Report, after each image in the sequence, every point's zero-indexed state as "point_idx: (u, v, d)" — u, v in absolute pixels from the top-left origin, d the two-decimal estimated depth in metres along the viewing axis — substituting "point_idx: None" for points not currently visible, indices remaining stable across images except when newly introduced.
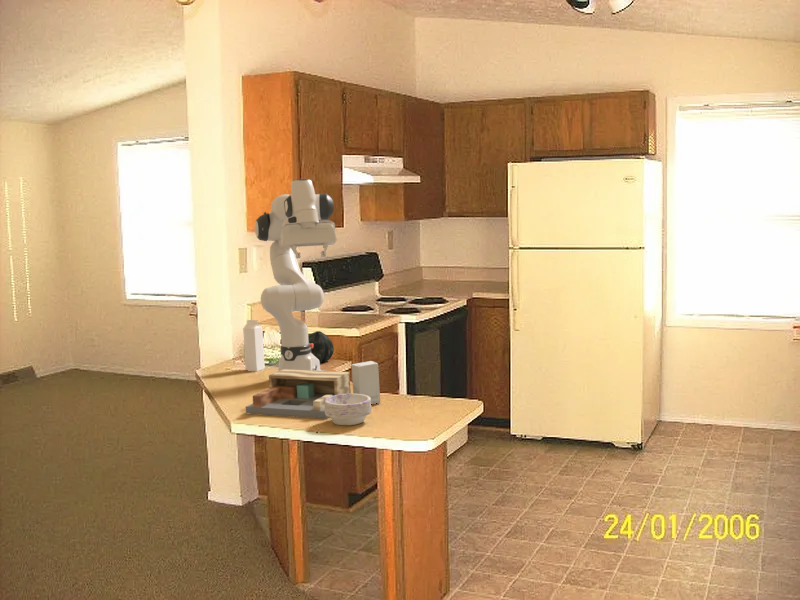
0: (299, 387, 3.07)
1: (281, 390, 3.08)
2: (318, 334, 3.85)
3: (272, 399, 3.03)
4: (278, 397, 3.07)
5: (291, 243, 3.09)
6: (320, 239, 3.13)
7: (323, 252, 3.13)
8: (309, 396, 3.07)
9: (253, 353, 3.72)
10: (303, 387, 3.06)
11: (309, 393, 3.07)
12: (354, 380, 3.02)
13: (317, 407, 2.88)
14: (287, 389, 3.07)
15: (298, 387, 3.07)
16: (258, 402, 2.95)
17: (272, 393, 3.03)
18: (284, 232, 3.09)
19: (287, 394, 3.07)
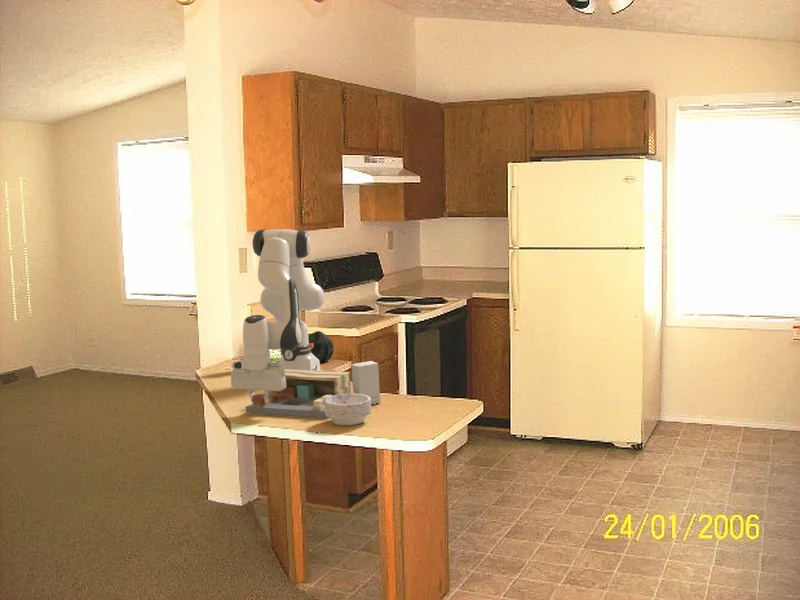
0: (299, 387, 3.07)
1: None
2: (318, 334, 3.85)
3: (272, 399, 3.03)
4: (278, 397, 3.07)
5: (238, 387, 2.98)
6: (265, 386, 2.94)
7: (263, 399, 2.96)
8: (309, 396, 3.07)
9: None
10: (303, 387, 3.06)
11: (309, 393, 3.07)
12: (354, 380, 3.02)
13: (317, 407, 2.88)
14: (287, 389, 3.07)
15: (298, 387, 3.07)
16: (258, 402, 2.95)
17: (272, 393, 3.03)
18: (232, 376, 2.98)
19: (287, 394, 3.07)
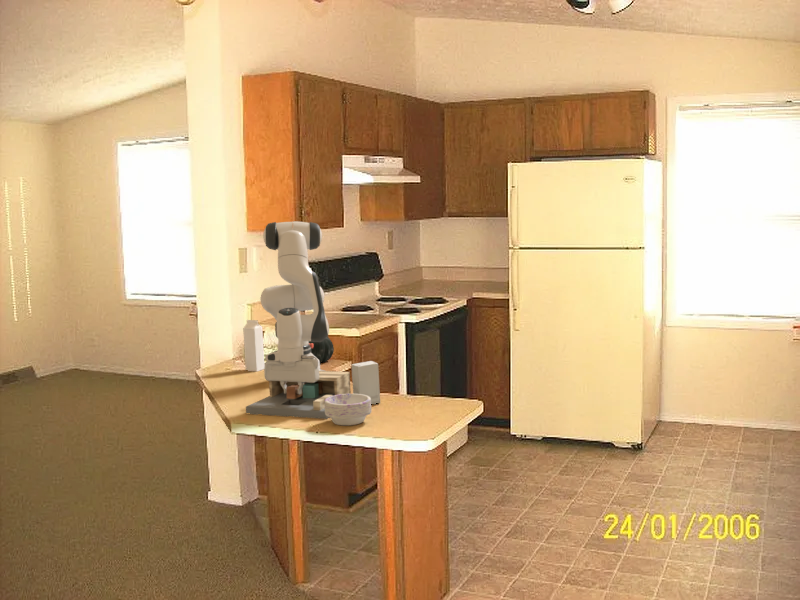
0: (305, 387, 3.06)
1: None
2: None
3: (302, 392, 3.07)
4: None
5: (272, 379, 3.02)
6: (299, 378, 2.98)
7: (297, 391, 3.00)
8: (315, 396, 3.07)
9: (252, 353, 3.72)
10: (309, 387, 3.06)
11: (315, 393, 3.07)
12: (354, 380, 3.02)
13: (317, 407, 2.88)
14: None
15: (303, 387, 3.07)
16: (292, 393, 2.99)
17: None
18: (265, 368, 3.02)
19: None
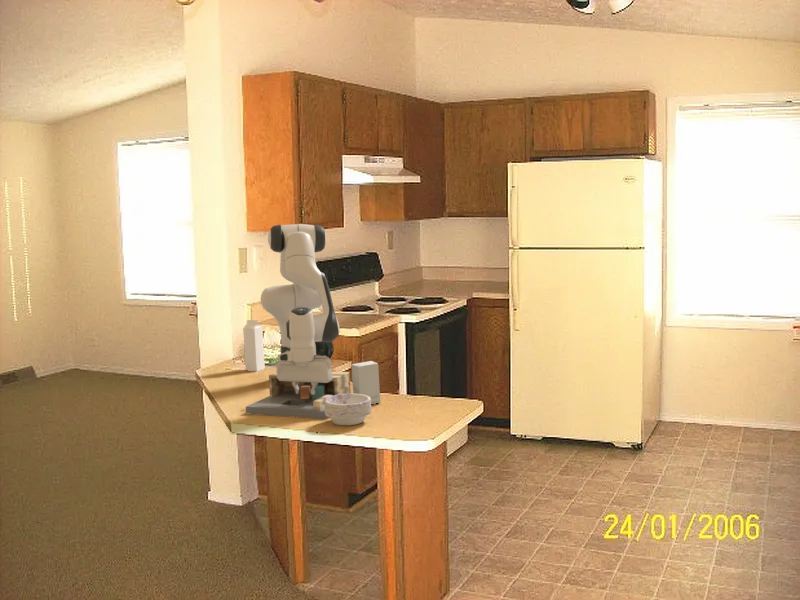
0: None
1: None
2: None
3: None
4: None
5: (284, 380, 2.99)
6: (311, 378, 2.95)
7: (310, 391, 2.97)
8: None
9: (253, 353, 3.72)
10: (318, 387, 3.05)
11: (324, 393, 3.07)
12: (354, 380, 3.02)
13: (317, 407, 2.88)
14: None
15: None
16: (306, 393, 2.97)
17: None
18: (277, 368, 2.99)
19: None
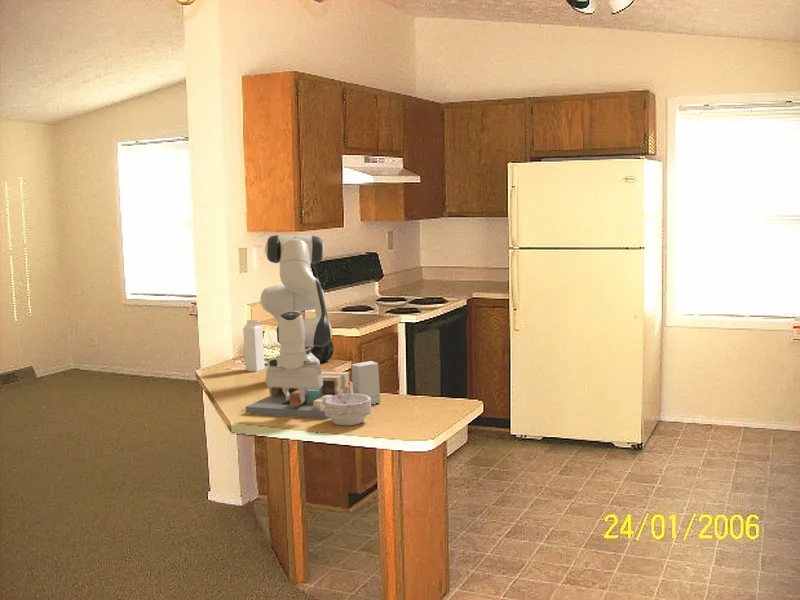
0: (309, 392, 2.98)
1: None
2: None
3: (305, 398, 2.97)
4: None
5: (274, 386, 2.91)
6: (302, 385, 2.87)
7: (300, 398, 2.89)
8: None
9: (253, 353, 3.72)
10: (313, 392, 2.98)
11: None
12: (354, 380, 3.02)
13: (317, 407, 2.88)
14: None
15: (307, 392, 2.98)
16: (295, 400, 2.89)
17: None
18: (267, 374, 2.91)
19: None
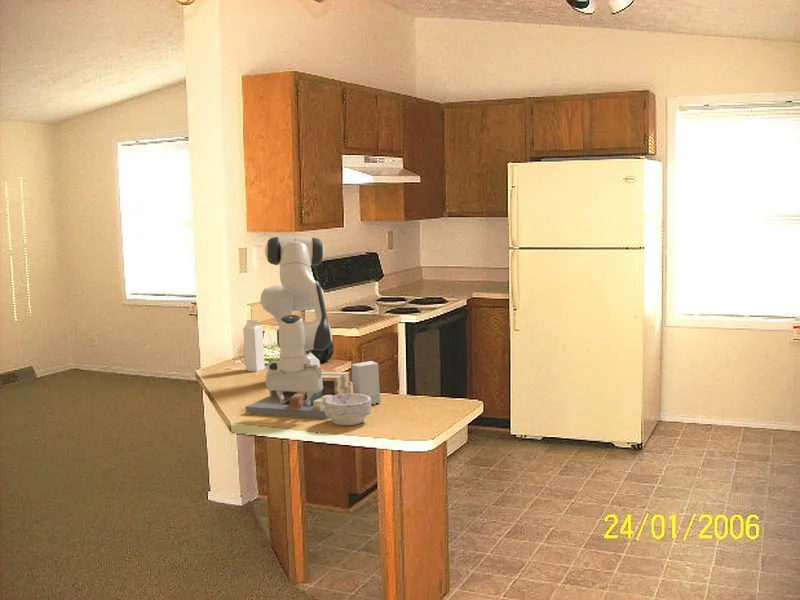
0: None
1: None
2: None
3: None
4: None
5: (274, 389, 2.92)
6: (302, 388, 2.87)
7: (305, 401, 2.89)
8: None
9: (253, 353, 3.72)
10: None
11: None
12: (354, 380, 3.02)
13: (317, 407, 2.88)
14: None
15: None
16: (295, 404, 2.89)
17: (305, 395, 2.97)
18: (267, 378, 2.91)
19: None
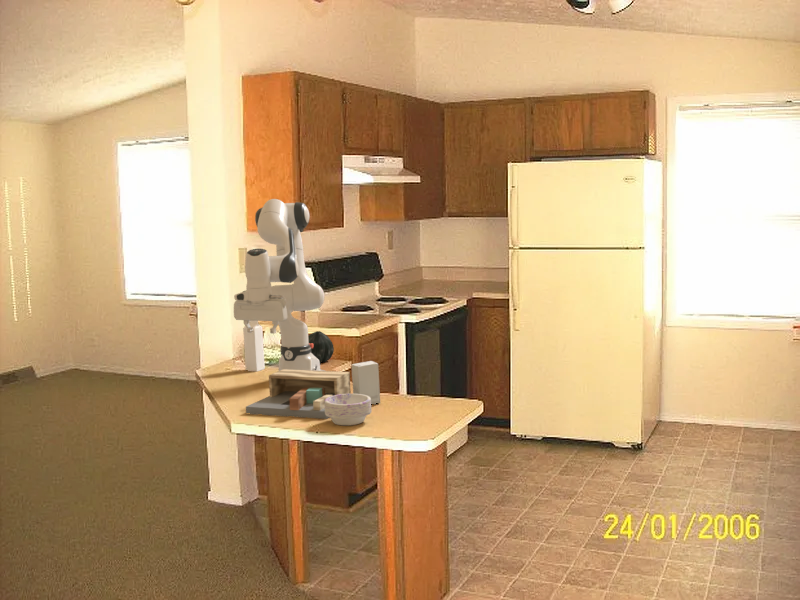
0: (309, 392, 2.98)
1: None
2: (318, 334, 3.85)
3: (305, 401, 2.97)
4: None
5: (241, 319, 3.09)
6: (267, 317, 3.05)
7: (271, 330, 3.06)
8: None
9: (253, 353, 3.72)
10: (313, 392, 2.98)
11: None
12: (354, 380, 3.02)
13: (317, 407, 2.88)
14: None
15: (307, 392, 2.98)
16: (295, 404, 2.89)
17: (305, 395, 2.97)
18: (234, 308, 3.09)
19: None
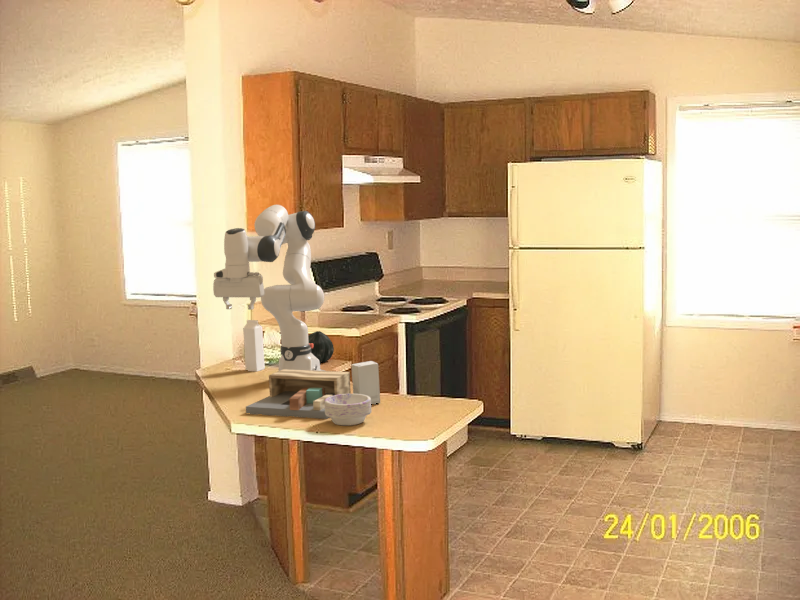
0: (309, 392, 2.98)
1: None
2: (318, 334, 3.85)
3: (305, 401, 2.97)
4: None
5: (220, 296, 3.22)
6: (245, 293, 3.18)
7: (249, 306, 3.19)
8: None
9: (253, 353, 3.72)
10: (313, 392, 2.98)
11: None
12: (354, 380, 3.02)
13: (317, 407, 2.88)
14: None
15: (307, 392, 2.98)
16: (295, 404, 2.89)
17: (305, 395, 2.97)
18: (214, 285, 3.22)
19: None
